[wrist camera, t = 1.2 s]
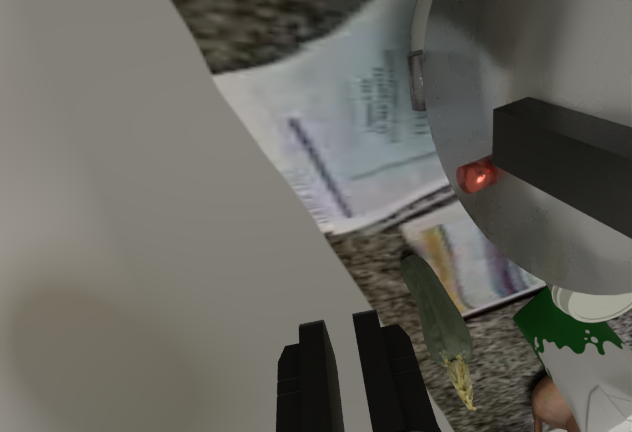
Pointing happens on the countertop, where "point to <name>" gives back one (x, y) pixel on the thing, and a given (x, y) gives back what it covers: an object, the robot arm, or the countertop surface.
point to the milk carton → (581, 364)
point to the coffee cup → (590, 304)
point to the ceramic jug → (551, 407)
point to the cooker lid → (537, 130)
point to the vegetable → (441, 324)
